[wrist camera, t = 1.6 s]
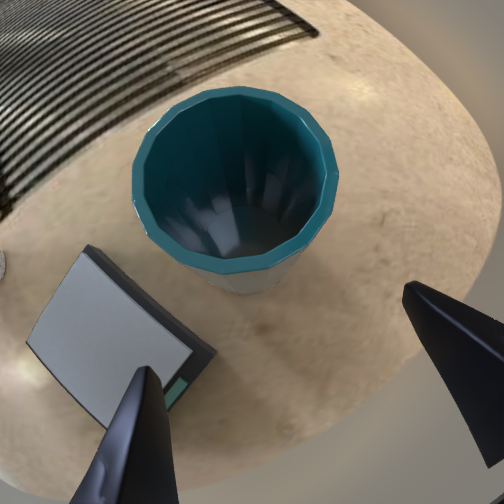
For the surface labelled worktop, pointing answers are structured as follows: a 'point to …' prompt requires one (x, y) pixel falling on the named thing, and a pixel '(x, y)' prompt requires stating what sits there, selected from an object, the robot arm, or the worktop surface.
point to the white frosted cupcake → (2, 264)
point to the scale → (112, 338)
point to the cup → (235, 185)
